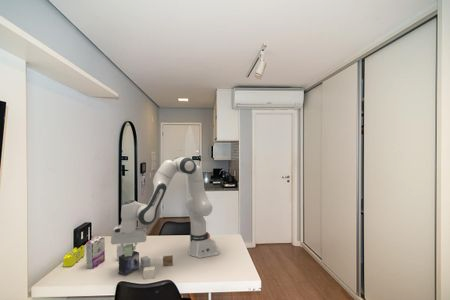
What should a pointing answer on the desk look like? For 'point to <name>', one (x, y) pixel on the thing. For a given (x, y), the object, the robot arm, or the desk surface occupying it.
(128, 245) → the sage brick
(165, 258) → the walnut brick
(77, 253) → the yellow toy chassis
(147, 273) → the cream brick
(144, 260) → the grey brick
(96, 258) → the candy bar box
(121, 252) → the photo printer
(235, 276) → the desk surface
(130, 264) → the small box
